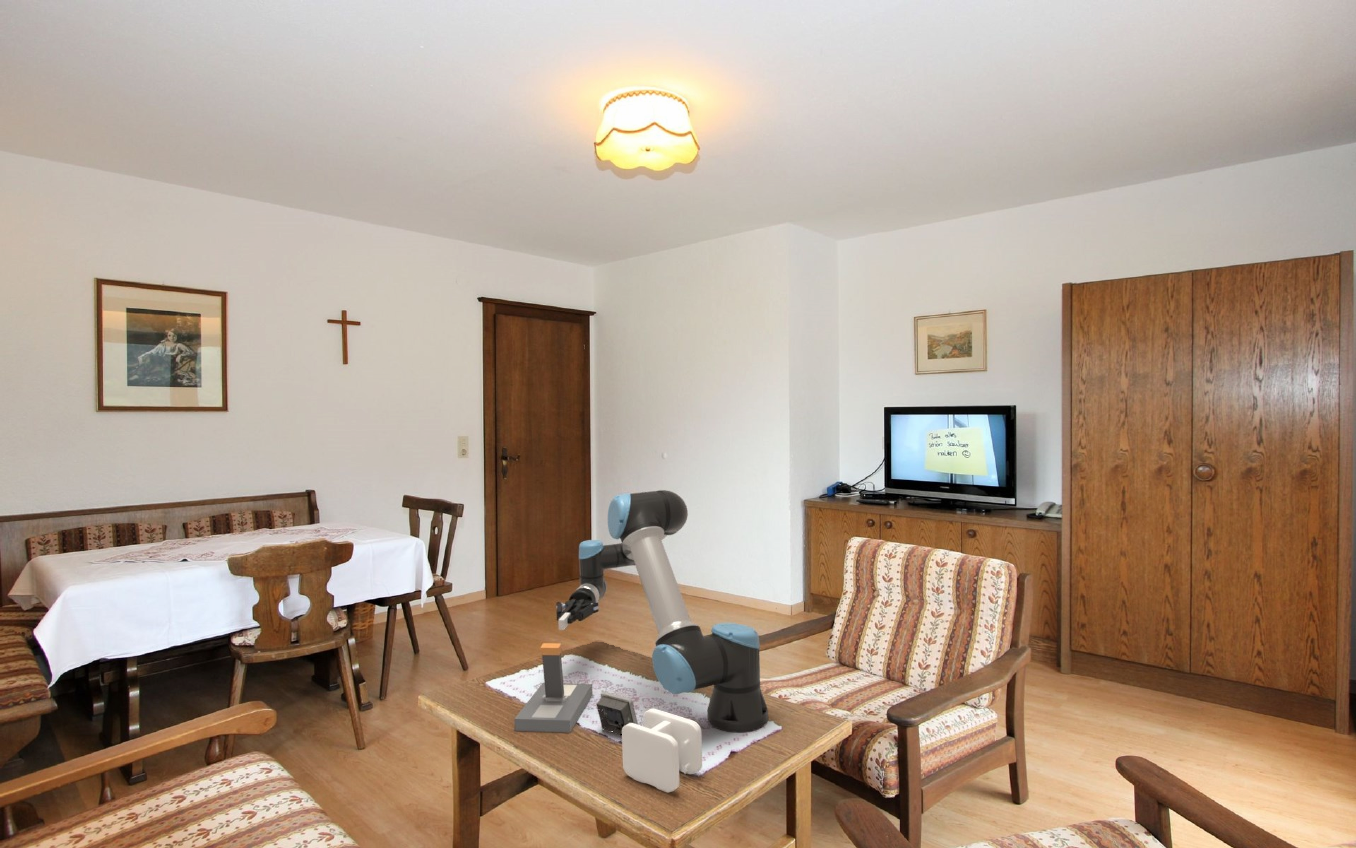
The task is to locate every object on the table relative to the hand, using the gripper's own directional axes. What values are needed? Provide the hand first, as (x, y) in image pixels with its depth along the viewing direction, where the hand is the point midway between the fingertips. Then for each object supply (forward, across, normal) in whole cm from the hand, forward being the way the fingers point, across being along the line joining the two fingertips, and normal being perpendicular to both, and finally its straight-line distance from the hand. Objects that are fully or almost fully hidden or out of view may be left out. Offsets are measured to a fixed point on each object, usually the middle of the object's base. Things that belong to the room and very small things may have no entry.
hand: (561, 625), depth 189 cm
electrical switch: (+17, -19, -20) cm, 33 cm away
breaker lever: (+8, 0, -16) cm, 18 cm away
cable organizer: (+36, -32, -20) cm, 53 cm away
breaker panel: (+8, 0, -20) cm, 22 cm away
